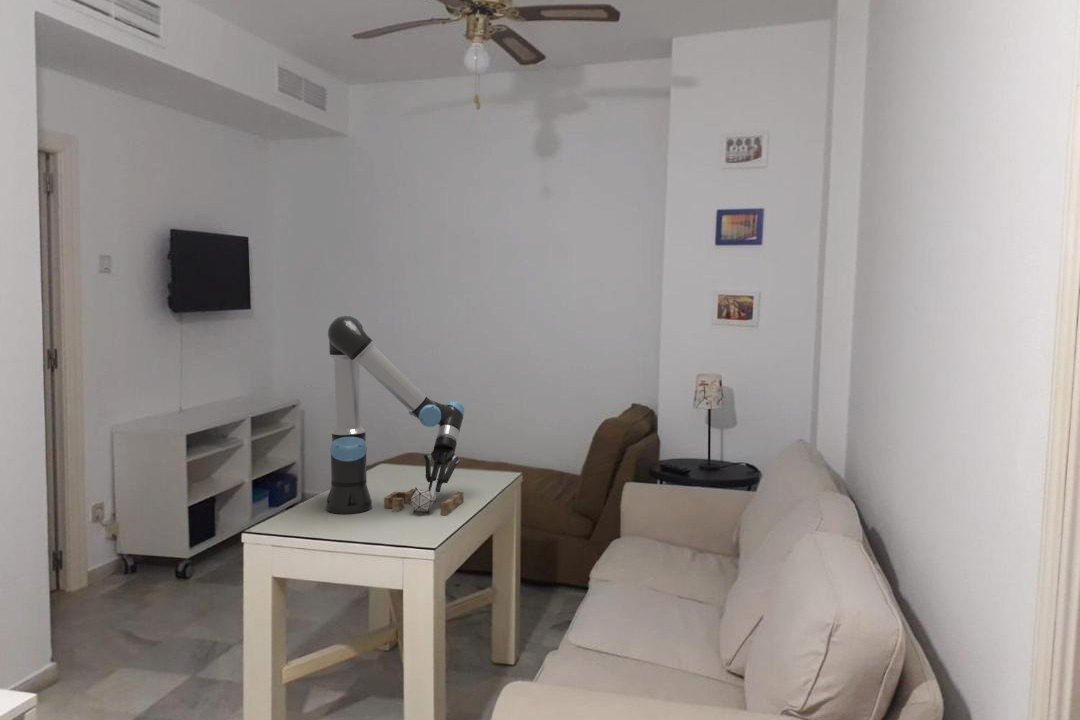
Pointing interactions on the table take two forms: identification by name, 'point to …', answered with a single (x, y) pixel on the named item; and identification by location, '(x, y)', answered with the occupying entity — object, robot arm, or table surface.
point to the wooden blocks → (399, 498)
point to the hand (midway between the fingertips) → (431, 499)
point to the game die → (422, 500)
